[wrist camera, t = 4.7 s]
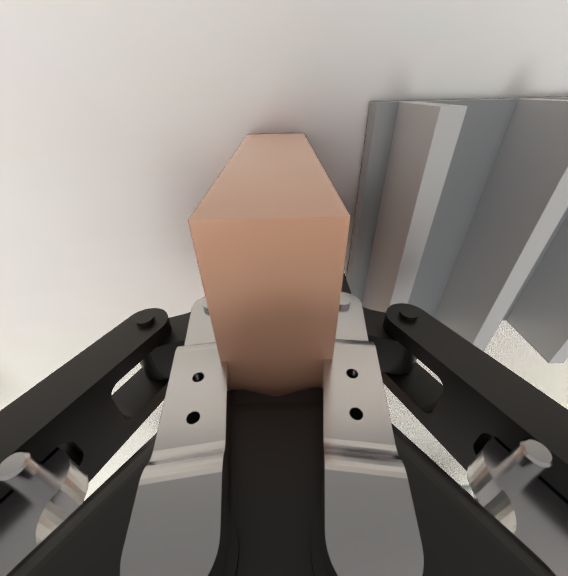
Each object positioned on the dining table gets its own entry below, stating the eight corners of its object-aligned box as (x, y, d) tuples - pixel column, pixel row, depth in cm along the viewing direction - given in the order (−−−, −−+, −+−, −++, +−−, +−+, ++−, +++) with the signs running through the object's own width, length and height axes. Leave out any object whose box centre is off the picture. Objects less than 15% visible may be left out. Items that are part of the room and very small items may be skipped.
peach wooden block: (303, 133, 12) (350, 216, 4) (300, 307, 18) (317, 482, 10) (247, 134, 12) (187, 220, 4) (261, 308, 18) (248, 484, 10)
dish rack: (765, 91, 12) (978, 93, 8) (591, 307, 19) (666, 359, 15) (369, 101, 12) (410, 107, 8) (341, 314, 19) (357, 368, 15)
